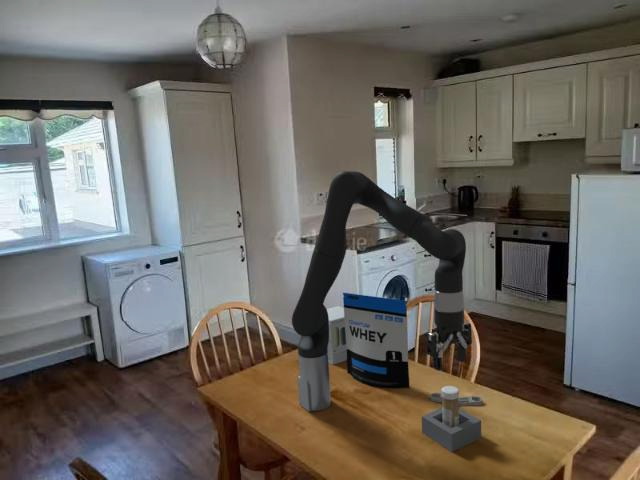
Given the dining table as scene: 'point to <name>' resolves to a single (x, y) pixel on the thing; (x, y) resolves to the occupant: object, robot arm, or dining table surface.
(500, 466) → the dining table surface
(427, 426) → the well
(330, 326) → the supplement box
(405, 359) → the protein powder
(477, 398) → the bracket
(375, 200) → the robot arm
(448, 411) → the sprinkles bottle
